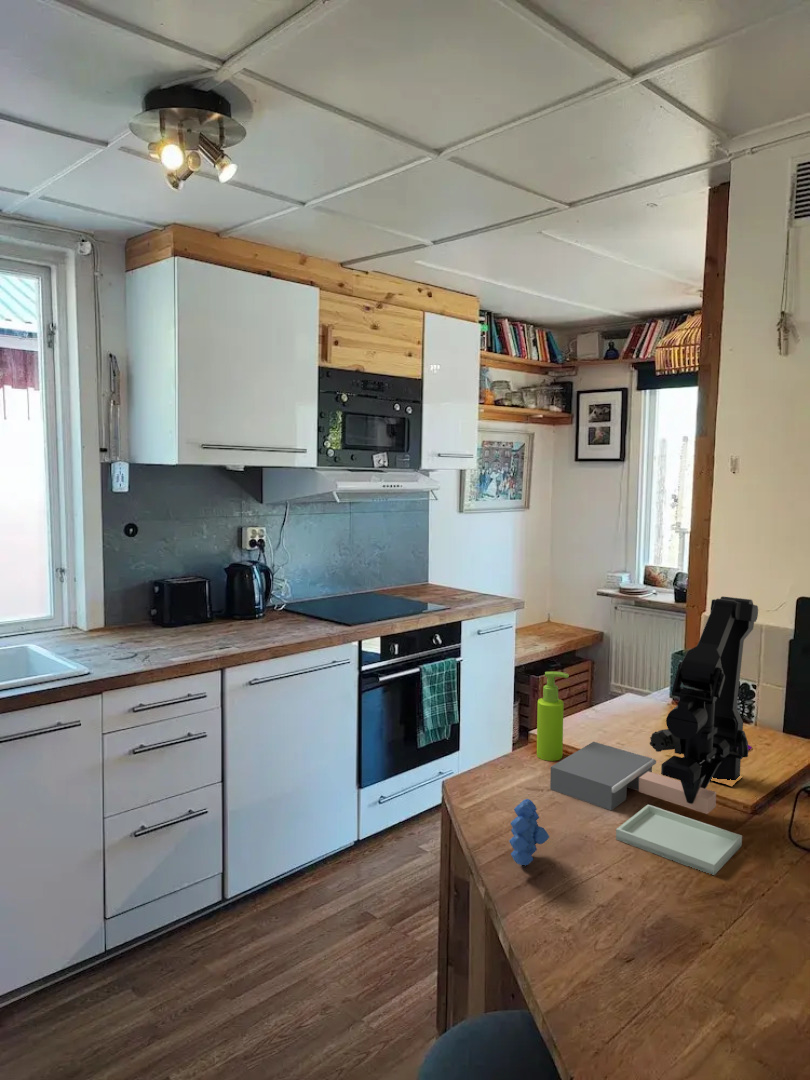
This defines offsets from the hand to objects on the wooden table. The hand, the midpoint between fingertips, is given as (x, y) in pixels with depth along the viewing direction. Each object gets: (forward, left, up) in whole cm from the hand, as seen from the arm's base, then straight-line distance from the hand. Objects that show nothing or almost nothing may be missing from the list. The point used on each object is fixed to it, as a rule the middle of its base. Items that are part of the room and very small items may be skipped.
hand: (694, 799), depth 152 cm
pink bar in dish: (+4, 0, -1) cm, 4 cm away
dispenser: (+20, 0, -3) cm, 20 cm away
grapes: (+14, +37, -4) cm, 39 cm away
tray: (-2, +12, -3) cm, 13 cm away
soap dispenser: (+36, -6, -4) cm, 37 cm away
